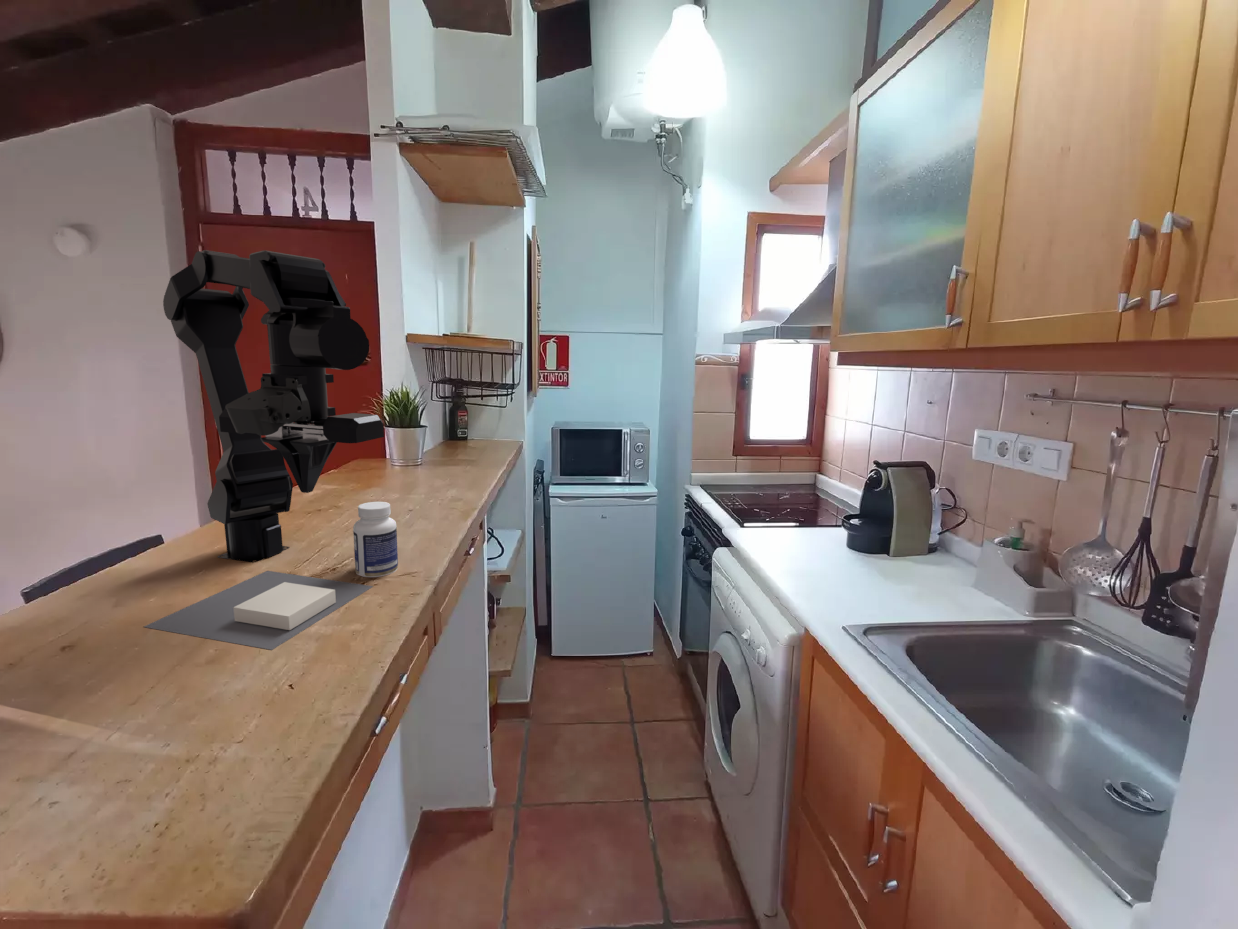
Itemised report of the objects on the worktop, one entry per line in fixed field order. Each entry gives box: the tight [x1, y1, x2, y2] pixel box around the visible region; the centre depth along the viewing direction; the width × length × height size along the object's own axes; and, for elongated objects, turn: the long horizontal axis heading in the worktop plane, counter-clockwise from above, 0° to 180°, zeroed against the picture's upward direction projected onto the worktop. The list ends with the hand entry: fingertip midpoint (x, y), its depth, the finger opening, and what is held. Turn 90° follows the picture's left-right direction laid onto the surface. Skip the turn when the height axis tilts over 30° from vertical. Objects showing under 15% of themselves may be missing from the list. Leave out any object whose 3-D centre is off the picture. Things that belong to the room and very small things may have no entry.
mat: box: [143, 570, 374, 651], centre depth 65 cm, size 16×16×1 cm
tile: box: [233, 582, 336, 630], centre depth 63 cm, size 2×7×7 cm
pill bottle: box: [352, 501, 399, 578], centre depth 75 cm, size 5×5×10 cm
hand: (307, 492), depth 69 cm, fingers closed
